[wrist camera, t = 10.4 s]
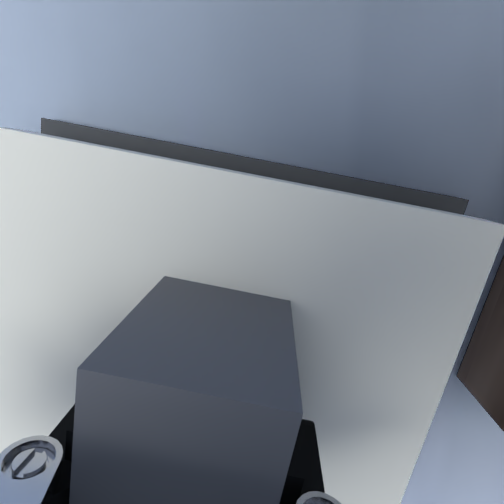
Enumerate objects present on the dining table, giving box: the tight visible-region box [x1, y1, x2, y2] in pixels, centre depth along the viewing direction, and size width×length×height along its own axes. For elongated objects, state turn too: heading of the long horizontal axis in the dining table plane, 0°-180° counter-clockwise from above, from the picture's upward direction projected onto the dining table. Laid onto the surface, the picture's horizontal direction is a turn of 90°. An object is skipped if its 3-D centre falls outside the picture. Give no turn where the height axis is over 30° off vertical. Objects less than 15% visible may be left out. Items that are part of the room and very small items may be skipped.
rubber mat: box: [41, 118, 469, 215], centre depth 15 cm, size 16×16×1 cm
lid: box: [0, 127, 504, 504], centre depth 10 cm, size 15×15×6 cm
